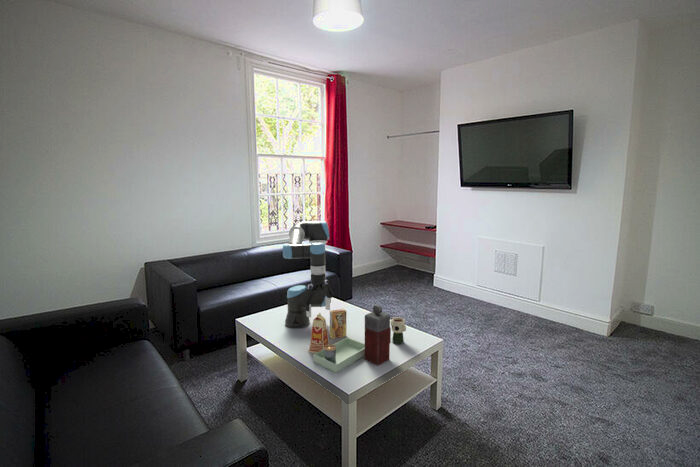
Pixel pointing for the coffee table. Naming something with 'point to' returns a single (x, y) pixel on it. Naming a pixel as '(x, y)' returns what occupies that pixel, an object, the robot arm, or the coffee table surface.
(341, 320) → the candy box
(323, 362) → the pale green tray
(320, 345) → the milk carton
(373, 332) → the toy vending machine
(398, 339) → the character mug
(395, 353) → the coffee table surface
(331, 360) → the coffee tin
